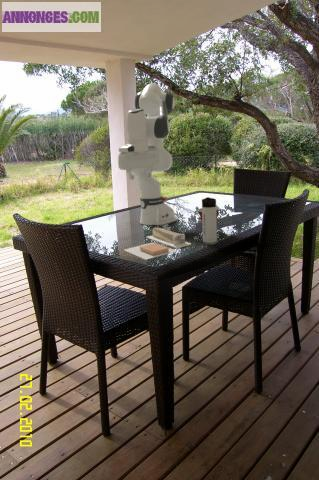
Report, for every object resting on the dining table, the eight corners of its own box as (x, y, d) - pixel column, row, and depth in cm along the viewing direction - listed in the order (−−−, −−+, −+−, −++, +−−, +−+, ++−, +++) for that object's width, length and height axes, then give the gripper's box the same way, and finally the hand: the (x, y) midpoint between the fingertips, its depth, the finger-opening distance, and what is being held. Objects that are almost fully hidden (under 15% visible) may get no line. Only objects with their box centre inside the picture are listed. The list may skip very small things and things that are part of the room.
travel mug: (215, 240, 181) (214, 196, 175) (217, 244, 174) (217, 199, 169) (201, 241, 181) (200, 197, 175) (203, 245, 174) (202, 200, 169)
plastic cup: (203, 228, 202) (202, 205, 199) (223, 230, 197) (223, 206, 193) (194, 233, 193) (193, 209, 190) (214, 235, 188) (214, 210, 185)
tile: (155, 242, 174) (168, 247, 166) (155, 246, 174) (168, 251, 166) (139, 246, 170) (152, 251, 162) (140, 250, 170) (153, 255, 162)
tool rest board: (160, 235, 193) (160, 233, 193) (191, 245, 174) (191, 243, 174) (146, 238, 189) (146, 236, 189) (176, 249, 170) (176, 247, 170)
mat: (153, 243, 181) (153, 242, 181) (177, 252, 166) (177, 250, 166) (123, 251, 172) (123, 249, 172) (145, 261, 158) (145, 259, 158)
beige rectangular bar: (160, 234, 191) (160, 226, 190) (184, 242, 176) (184, 234, 175) (150, 237, 188) (149, 229, 187) (174, 245, 173) (173, 236, 172)
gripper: (153, 145, 185) (155, 175, 188) (115, 148, 174) (118, 180, 178) (161, 145, 180) (163, 175, 183) (122, 148, 169) (125, 181, 172)
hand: (140, 178), depth 180 cm, fingers open, 8 cm apart
